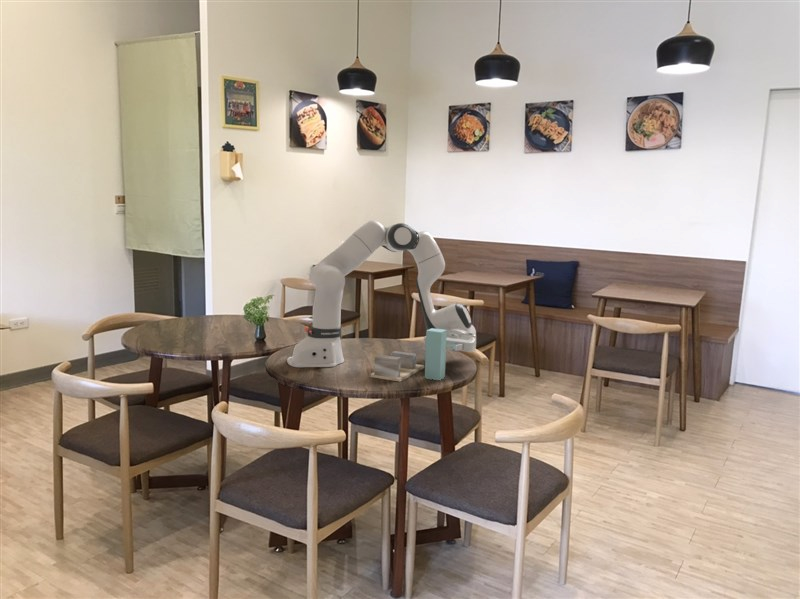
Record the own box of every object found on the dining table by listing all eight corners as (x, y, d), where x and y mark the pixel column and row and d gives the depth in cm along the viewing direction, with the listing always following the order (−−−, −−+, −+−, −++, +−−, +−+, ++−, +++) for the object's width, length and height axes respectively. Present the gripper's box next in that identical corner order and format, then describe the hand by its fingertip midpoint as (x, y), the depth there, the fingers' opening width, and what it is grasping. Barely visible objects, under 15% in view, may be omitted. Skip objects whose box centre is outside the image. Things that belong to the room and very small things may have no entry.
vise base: (396, 363, 255) (397, 344, 254) (424, 367, 250) (424, 347, 249) (370, 376, 236) (371, 355, 234) (400, 381, 231) (400, 360, 229)
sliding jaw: (394, 363, 250) (394, 350, 249) (415, 366, 246) (416, 353, 245) (391, 365, 247) (391, 352, 246) (412, 368, 243) (412, 355, 243)
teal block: (429, 375, 240) (431, 328, 237) (444, 377, 238) (446, 329, 235) (424, 378, 236) (426, 330, 233) (439, 380, 233) (441, 332, 230)
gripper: (431, 329, 258) (417, 335, 245) (479, 335, 249) (468, 341, 237) (430, 344, 259) (417, 351, 246) (479, 350, 250) (467, 358, 238)
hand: (442, 346), depth 241 cm, fingers open, 8 cm apart
